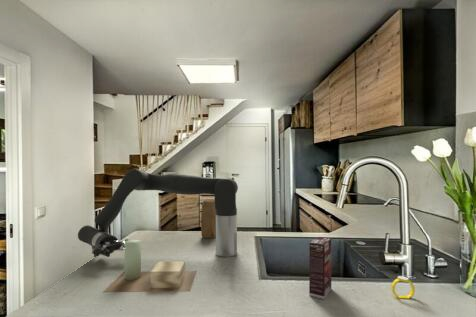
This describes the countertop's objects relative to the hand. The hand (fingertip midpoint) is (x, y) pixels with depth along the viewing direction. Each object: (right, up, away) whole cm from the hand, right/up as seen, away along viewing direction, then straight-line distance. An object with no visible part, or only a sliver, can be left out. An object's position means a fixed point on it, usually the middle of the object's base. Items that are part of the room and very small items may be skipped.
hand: (121, 251), depth 103 cm
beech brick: (+20, -6, -11) cm, 24 cm away
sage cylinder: (+7, -6, -7) cm, 12 cm away
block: (+27, -9, +51) cm, 58 cm away
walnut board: (+15, -8, -10) cm, 20 cm away
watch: (+91, -7, -20) cm, 94 cm away
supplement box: (+68, -7, -17) cm, 71 cm away
